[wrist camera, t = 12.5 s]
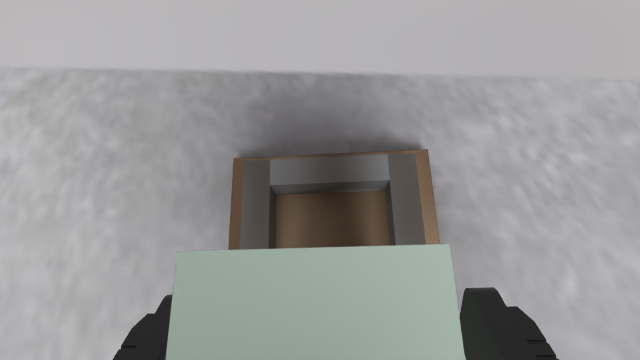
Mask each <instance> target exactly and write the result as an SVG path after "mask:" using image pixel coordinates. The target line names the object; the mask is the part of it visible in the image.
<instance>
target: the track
mask: <svg viewBox="0 0 640 360" xmlns="http://www.w3.org/2000/svg"><path fill="white" fill-rule="evenodd" d="M434 244H440V240H439V232H438V225H437V217H436V209H435V202H434V194H433V187H432V179H431V171H430V164H429V156H428V149H424V150H403V151H381V152H360V153H339V154H318V155H297V156H275V157H254V158H234V163H233V180H232V198H231V215H230V232H229V250H248V249H285V248H322V247H360V246H397V245H434Z"/></svg>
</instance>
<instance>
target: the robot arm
mask: <svg viewBox="0 0 640 360" xmlns="http://www.w3.org/2000/svg"><path fill="white" fill-rule="evenodd" d="M172 296H173V295H167V296H165V297H164V299H163V300H162V302H161V304H160V305H159V307H158V309H157V311H156V313H155V314H147V315H146V316H145V317H144V318H143V319H141V320H140V321H139V322H138V323H137V324H136V325H135V326H134V327H133V328H132V329H131V331H130V332H129V334H128V336H127V337H126V339H125V340H124V342H123V344H122V345H121V349H119V350H118V352H117V353H116V355H115V357H114V358H113V360H166V351H167V342H168V333H169V323H170V314H171V305H172ZM460 325H461V333H462V340H463V348H464V354H465V357H466V360H559V359H557V358H556V354H555V353H554V351H553V350H552V348H551V347H550V345H549V344H548V343H547V342H546V339H545V337H544V336H543V334H542V333H541V331H540V330H539V328H538V326H537V325H536V323H535V322H534V321H533V320H532V319H531V318H530V317H529V316H527V315H526V314H525V313H524V312H523V311H522V310H520V309H519V308H518V307H517V306H515V307H507V306H506V305H505V303H504V301H503V300H502V298H501V296H500V294H499V293H498V291H497V290H496V289H495V288H466V289H465V291H464V295H463V301H462V307H461V313H460Z"/></svg>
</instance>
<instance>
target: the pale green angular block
mask: <svg viewBox="0 0 640 360" xmlns="http://www.w3.org/2000/svg"><path fill="white" fill-rule="evenodd" d="M166 360H465V355H464V348H463V340H462V333H461V325H460V318H459V310H458V303H457V296H456V288H455V281H454V273H453V266H452V258H451V251H450V244H434V245H397V246H360V247H322V248H285V249H248V250H211V251H177V259H176V268H175V277H174V286H173V296H172V305H171V314H170V323H169V333H168V342H167V351H166Z"/></svg>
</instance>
